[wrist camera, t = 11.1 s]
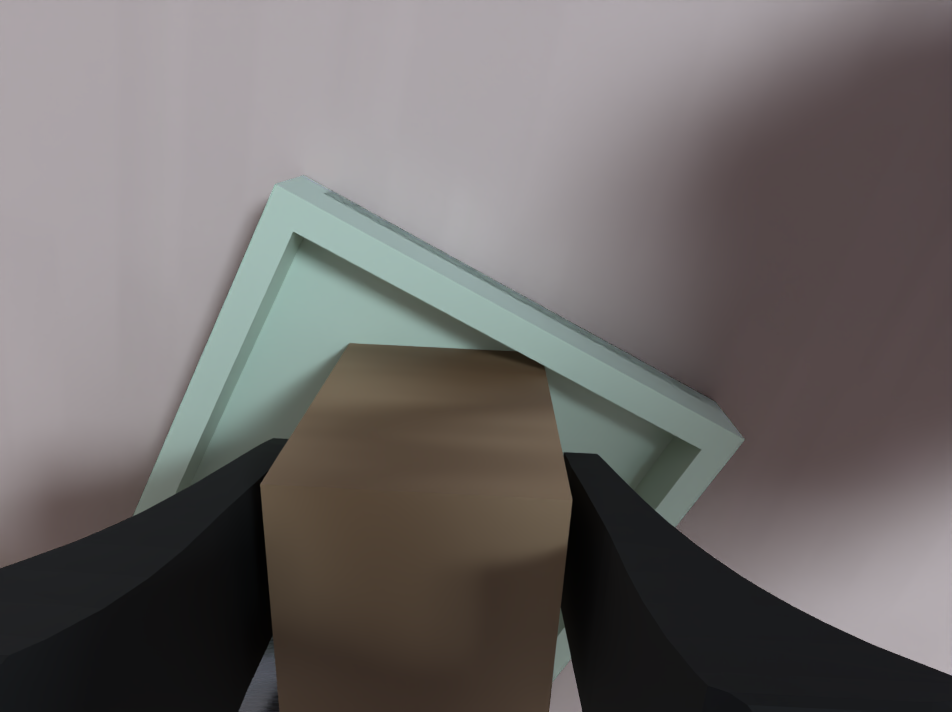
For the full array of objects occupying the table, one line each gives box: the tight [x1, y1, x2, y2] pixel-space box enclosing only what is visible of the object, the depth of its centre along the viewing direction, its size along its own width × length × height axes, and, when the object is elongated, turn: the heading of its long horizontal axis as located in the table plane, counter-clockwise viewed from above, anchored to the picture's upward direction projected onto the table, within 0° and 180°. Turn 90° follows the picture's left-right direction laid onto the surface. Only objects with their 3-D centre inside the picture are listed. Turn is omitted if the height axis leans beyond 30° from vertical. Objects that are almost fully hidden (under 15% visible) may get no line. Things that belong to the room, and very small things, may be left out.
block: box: [260, 343, 572, 712], centre depth 12 cm, size 4×4×6 cm
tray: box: [133, 175, 745, 682], centre depth 15 cm, size 10×12×2 cm
